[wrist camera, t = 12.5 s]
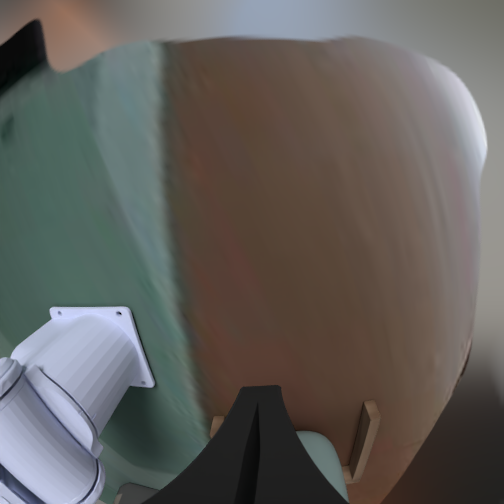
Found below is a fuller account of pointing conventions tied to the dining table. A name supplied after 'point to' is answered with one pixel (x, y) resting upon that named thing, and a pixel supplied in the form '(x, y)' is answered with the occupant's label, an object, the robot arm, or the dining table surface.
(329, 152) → the dining table surface
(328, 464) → the cup
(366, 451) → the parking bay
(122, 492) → the liquor
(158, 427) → the dining table surface
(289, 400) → the dining table surface
